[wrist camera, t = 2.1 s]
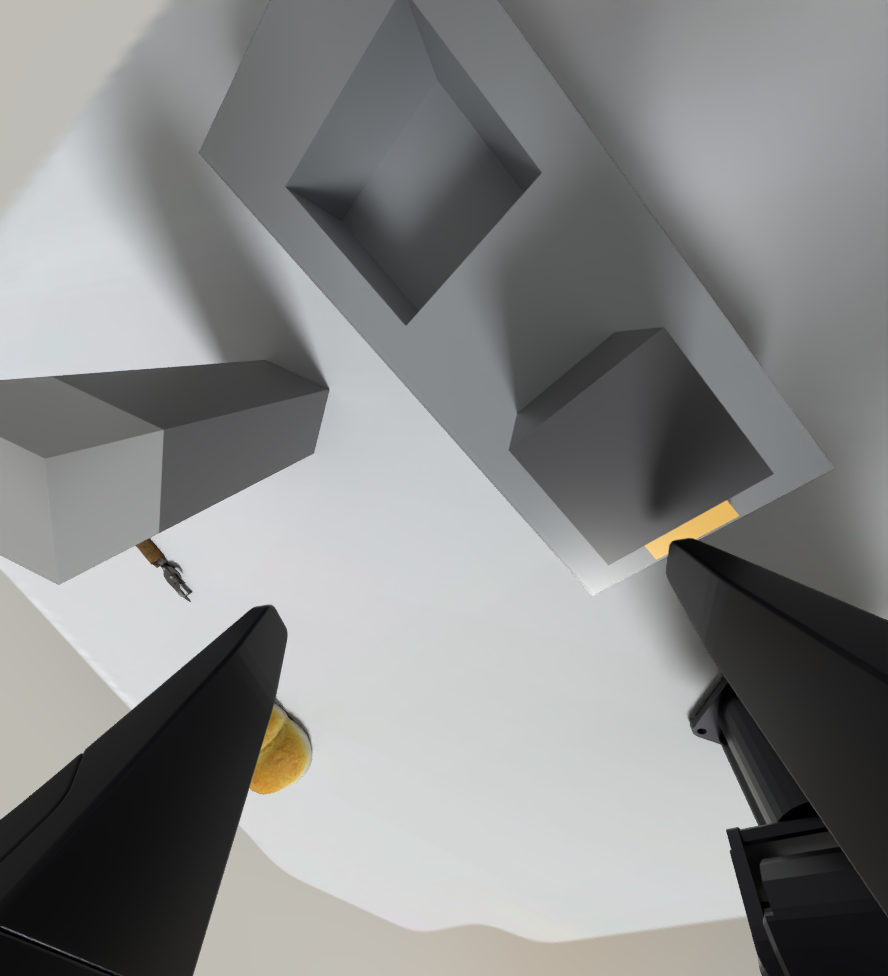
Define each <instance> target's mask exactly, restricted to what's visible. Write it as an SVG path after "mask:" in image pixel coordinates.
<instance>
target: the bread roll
mask: <svg viewBox="0 0 888 976" xmlns="http://www.w3.org/2000/svg"><path fill="white" fill-rule="evenodd" d="M311 762H312V750H311V746H310V742H309V739H308V736H307V734H306V733H305V732H304V731H303V729H302V728H301V727H300V726H299V725H298V724H297V723H295V722H294V721H293V720H291V719H289V718H288V716H287V714H286V713H285V711H284V710H283V709H282V708H280V707H279V706H278V705H277V704H275V703H274V706H273V710H272V714H271V717H270V721H269V724H268V727H267V731H266V734H265V737H264V741H263V744H262V747H261V751H260V754H259V757H258V761H257V764H256V767H255V771H254V774H253V777H252V781H251V784H250V787H249V788H250V789H251V790H252V791H254V792H257V793H259V794H270V793H274V792H277V791H279V790H281V789H283V788H285V787H287V786H289V785H291V784H293V783H295V782H297V781H298V780H299V779H300V778H301V777H303V776H304V775H305V773H306V772H307V770H308V769H309V767H310V765H311Z"/></svg>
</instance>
